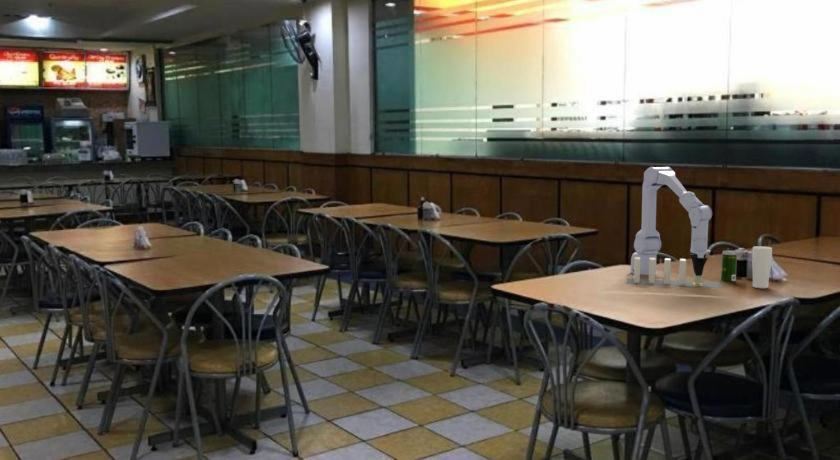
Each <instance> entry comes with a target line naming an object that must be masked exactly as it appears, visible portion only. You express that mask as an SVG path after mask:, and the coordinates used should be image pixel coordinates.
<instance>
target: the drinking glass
mask: <svg viewBox="0 0 840 460" xmlns="http://www.w3.org/2000/svg"><path fill="white" fill-rule="evenodd" d="M772 260H773V247H770V246H760V245H759V246H755V245H754V246H752V253H751V265H752V266H751V267H752V287H754V288H756V289H767V288H768V287H769V280H770V274H771V267H772Z"/></svg>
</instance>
